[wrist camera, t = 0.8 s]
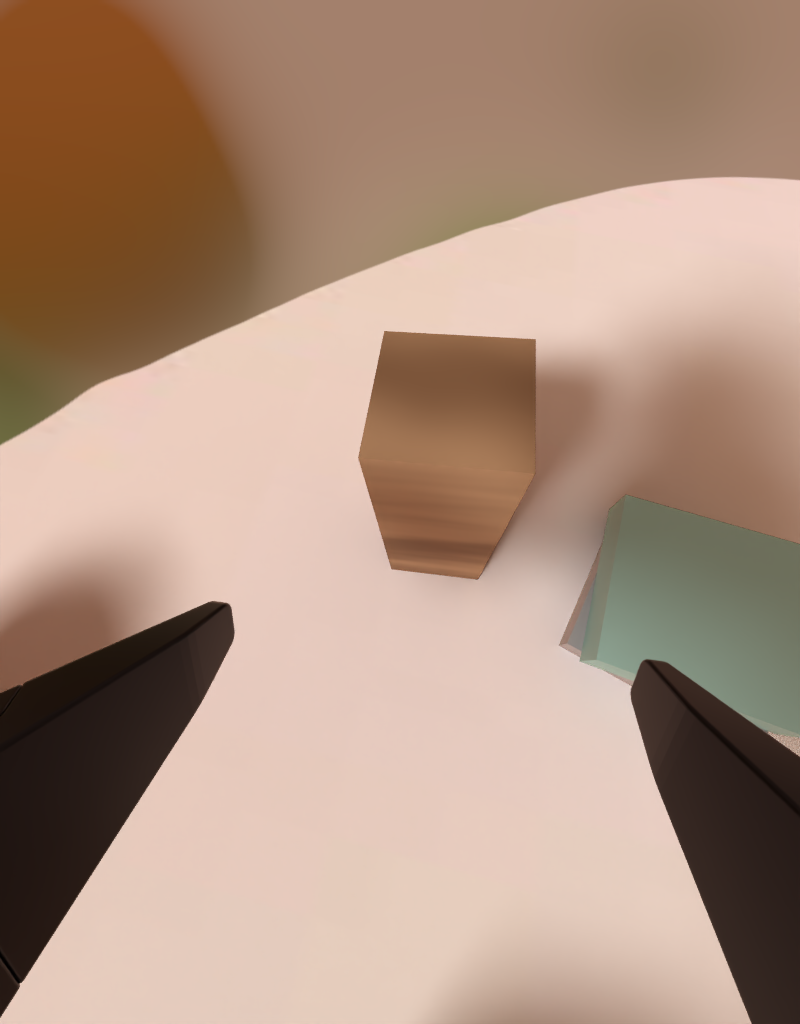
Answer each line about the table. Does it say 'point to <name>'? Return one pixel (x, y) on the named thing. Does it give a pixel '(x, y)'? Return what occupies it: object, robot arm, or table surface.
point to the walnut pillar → (448, 447)
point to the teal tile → (700, 608)
